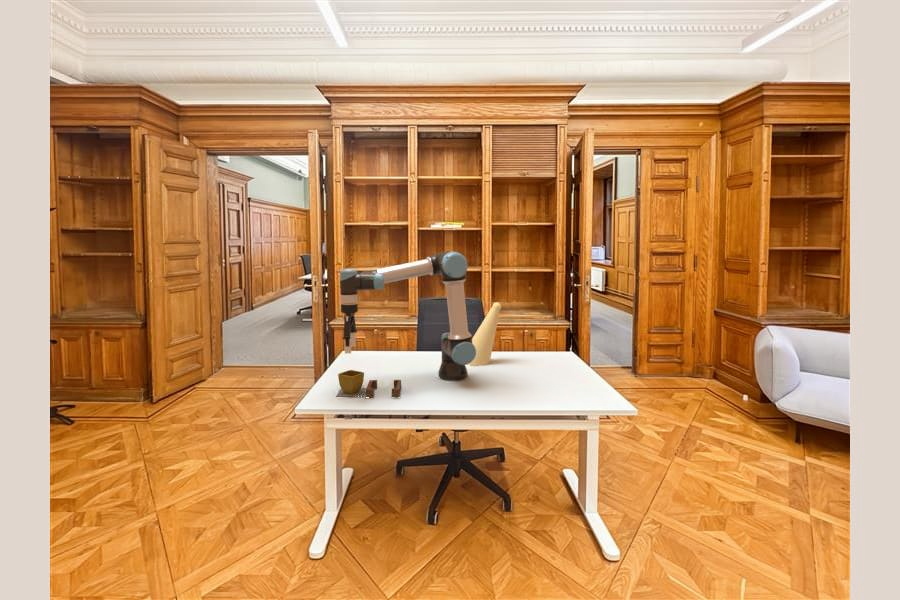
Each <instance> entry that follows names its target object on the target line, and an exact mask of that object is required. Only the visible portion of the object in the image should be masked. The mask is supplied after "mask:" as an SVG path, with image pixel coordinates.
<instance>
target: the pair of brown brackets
mask: <svg viewBox="0 0 900 600" xmlns="http://www.w3.org/2000/svg"><path fill="white" fill-rule="evenodd" d="M365 388H366V391H365V398H366V397H369V398H368V399H374V398H375V390H378V379H369V381H368V383H367V386H366V387H365ZM401 391H402V379H393V387H392V388H391V398H392V397H401V393H400V392H401Z"/></svg>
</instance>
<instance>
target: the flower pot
mask: <svg viewBox="0 0 900 600" xmlns="http://www.w3.org/2000/svg"><path fill="white" fill-rule="evenodd" d="M337 377H338V385H339V386H340V389H342V390H343V392H345V393H350V394H353V393H356V392H358V391H359V390H360V389H361V388H363V384H364V378H365V372H363V371H358V370H355V369H354V370H353V369H348V370H346V371H343V372H339V373H338V374H337Z"/></svg>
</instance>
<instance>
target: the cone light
mask: <svg viewBox="0 0 900 600" xmlns="http://www.w3.org/2000/svg"><path fill="white" fill-rule="evenodd" d="M501 309H502V304H501V303H500V302H493V304H492V306H491V308H490V309H489V311H488V313H487V314H486V316H485V318H483V320H482V322H481V324H480V325H479V327H478V328H477V331H476V332H475V334H474V335H473V336H472V344H473V345H474V347H475V349H476V356H475V358H474V359H473V361H472V362H470V363H469V364H466V365H470V366H469V367H480V366H479V365H483V366H486V364H487V365H489V364H490V363H489V362H491V358H492V351H493V347H494V343H495V338H496V333H497V326H498V322H499V317H500V312H501ZM488 363H489V364H488Z"/></svg>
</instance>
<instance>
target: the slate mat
mask: <svg viewBox="0 0 900 600" xmlns="http://www.w3.org/2000/svg"><path fill="white" fill-rule="evenodd" d="M366 388H367V387H361V389H360V390H359V391H358V392H356V393H353V394H350V393H345V392H343V390H342V389H341V388H339V390H338V392H337V393H336V395H335V398H336V397H349V398H362V397H361V396H363V395H364V396H365V394H366V391H365V390H366ZM358 396H359V397H358ZM364 396H363V397H364Z"/></svg>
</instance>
